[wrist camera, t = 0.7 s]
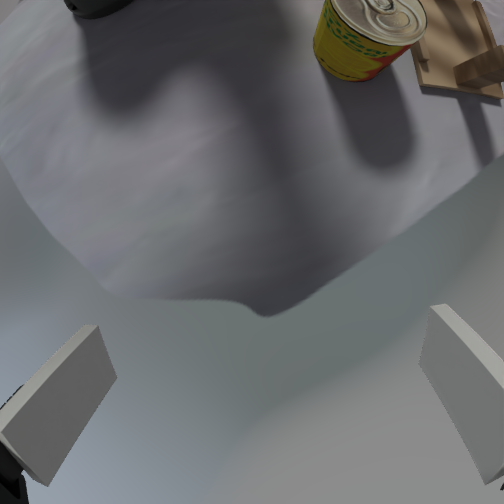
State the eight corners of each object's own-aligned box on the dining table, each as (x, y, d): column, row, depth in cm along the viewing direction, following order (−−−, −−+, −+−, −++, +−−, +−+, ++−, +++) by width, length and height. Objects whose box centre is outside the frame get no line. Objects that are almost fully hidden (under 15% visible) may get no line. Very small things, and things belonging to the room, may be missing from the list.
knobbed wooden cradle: (384, -28, 23) (417, -83, 9) (465, -7, 22) (511, -41, 8) (419, 85, 28) (484, 53, 14) (499, 99, 26) (565, 87, 13)
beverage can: (341, 93, 29) (373, 59, 18) (297, 35, 28) (307, -19, 16) (398, 67, 28) (444, 32, 16) (356, 11, 26) (384, -39, 14)
